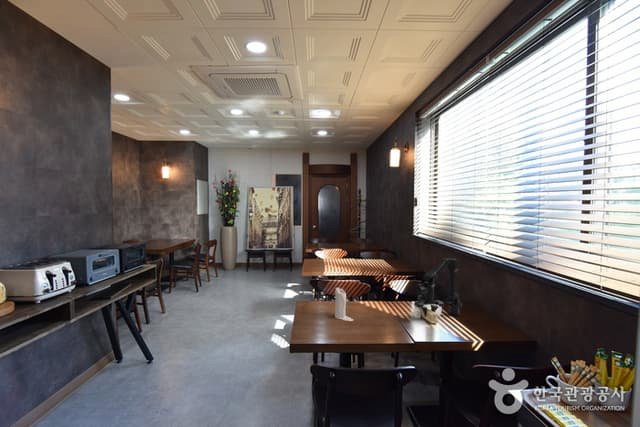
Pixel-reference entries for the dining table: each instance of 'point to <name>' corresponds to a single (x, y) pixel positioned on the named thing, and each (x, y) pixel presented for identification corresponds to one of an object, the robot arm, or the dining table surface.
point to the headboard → (417, 310)
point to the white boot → (341, 305)
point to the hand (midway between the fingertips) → (428, 316)
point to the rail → (430, 316)
